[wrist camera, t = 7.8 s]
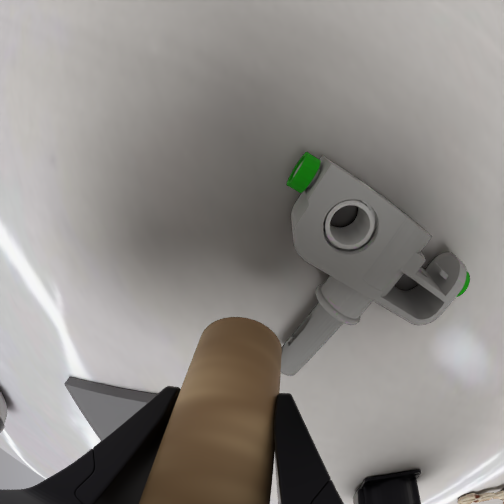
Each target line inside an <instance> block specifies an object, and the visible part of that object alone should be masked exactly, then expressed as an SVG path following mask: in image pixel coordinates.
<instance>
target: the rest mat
mask: <svg viewBox="0 0 504 504" xmlns="http://www.w3.org/2000/svg"><path fill="white" fill-rule="evenodd" d="M65 386H66V388H67V389H68V391H69V393H70V394H71V396H72V398H73V399H74V401H75V403H76V404H77V406H78V407H79V409H80V410H81V412H82V414H83V415H84V417H85V418H86V420H87V421H88V423H89V424H90V426H91V427H92V428H93V430H94V431H95V433H96V434H97V436H98V437H99V438H100V440H101V441H102V440H103V439H105V438H106V437H107V436H108V435H110V434H111V433H112V432H113V431H114V430H116V429H117V428H118V427H119V426H121V425H122V424H123V423H124V422H125V421H127V420H128V419H129V418H130V417H131V416H133V415H134V414H135V413H136V412H137V411H139V410H140V409H141V408H142V407H143V406H144V405H146V404H147V403H148V402H149V401H150V400H151V399H153V398H154V397H155V396H156V395H157V394H152V393H145V392H139V391H134V390H128V389H123V388H118V387H113V386H108V385H103V384H98V383H94V382H90V381H85V380H81V379H77V378H73V377H69V378H68V380H67V381H66V382H65Z"/></svg>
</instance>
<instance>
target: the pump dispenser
mask: <svg viewBox="0 0 504 504" xmlns="http://www.w3.org/2000/svg"><path fill="white" fill-rule="evenodd" d="M6 417H7V406H6V402H5V399H4V397H3V395H2V393H1V391H0V433H1V432H2V431H3V429H4V427H5V426H4V423H5V420H6Z"/></svg>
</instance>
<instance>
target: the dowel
mask: <svg viewBox="0 0 504 504" xmlns="http://www.w3.org/2000/svg"><path fill="white" fill-rule="evenodd" d="M281 356H282V348H281V344H280V341H279V339H278V338H277V336H276V335H275V334H274V332H273V331H272V330H270V329H269V328H268V327H266V326H265V325H263V324H262V323H260V322H257V321H255V320H252V319H248V318H242V317H229V318H223V319H220V320H217V321H215V322H213V323H211V324H210V325H209V326H208V327H207V328H206V329H205V330H204V331H203V333H202V335H201V338H200V340H199V343H198V346H197V348H196V351H195V353H194V356H193V359H192V361H191V364H190V366H189V369H188V372H187V374H186V377H185V380H184V382H183V385H182V387H181V390H180V393H179V395H178V398H177V401H176V403H175V406H174V409H173V411H172V414H171V417H170V419H169V422H168V425H167V427H166V430H165V433H164V436H163V438H162V441H161V444H160V446H159V449H158V452H157V455H156V457H155V460H154V463H153V466H152V468H151V471H150V474H149V477H148V479H147V482H146V485H145V488H144V490H143V493H142V496H141V499H140V502H139V504H270V495H271V485H272V474H273V464H274V452H275V442H274V419H275V409H276V399H277V394H279V388H280V372H281Z"/></svg>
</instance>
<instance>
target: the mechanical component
mask: <svg viewBox="0 0 504 504" xmlns="http://www.w3.org/2000/svg"><path fill="white" fill-rule="evenodd" d="M287 186H289V187H291V188H293V189H294V190H296V191H298V192H299V193H301V195H300V196H299V198H298V200H297V201H296V203H295V204H294V206H293V209H292V212H291V222H292V232H293V241H294V246H295V249H296V251H297V253H298V255H299V256H300V257H301V258H302V259H303V260H305V261H306V262H307V263H309V264H311V265H313V266H314V267H316V268H318V269H319V270H321V271H323V272H325V273H326V274H328V275H330V277H329V278H328V279H327V281H326V282H325V283H324V284H323V285H320V286H318V287H317V289H316V297H317V299H318V301H319V302H318V304H317V306H316V307H315V308H314V309H313V311H312V312H311V313H310V314H309V316H308V317H307V318H306V319H305V320H304V322H303V323H302V324H301V325H300V326H299V327H298V329H297V330H296V331H295V332H294V333H293V335H292V336H291V337H290V338H289V339H288V340H287V342H286V343H285V344H284V345H283V346H282V347H281V348H282V356H281V373H283V374H285V375H288V376H292V375H295V374H296V373H297V372H298V371H299V370H300V369H301V368H302V367H303V366H304V365H305V364H306V363H307V362H308V361H309V360H310V359H311V357H312V356H313V355H314V354H315V353H316V352H317V351H318V350H319V349H320V348H321V347H322V346H323V345H324V344H325V343H326V342H327V340H328V339H329V338H330V337H331V336H332V335H333V334H334V333H335V332H336V331H337V329H338V328H339V327H340V326H341V325H343V324H344V323H345V324H349V325H354V324H357V323H358V322H359V320H360V315H361V314H362V313H363V312H364V311H365V309H366V308H367V307H368V306H369V305H370V304H371V302H372V301H374V302H376V303H378V304H379V305H381V306H383V307H384V308H386V309H388V310H389V311H391V312H393V313H394V314H396V315H398V316H399V317H401V318H403V319H404V320H406V321H408V322H409V323H411V324H414V325H425V324H428V323H431V322H432V321H434V320H436V319H437V318H438V317H439V316H440V315H441V314H442V313H443V312H444V311H445V310H446V308H447V307H448V306H449V305H450V304H451V302H452V301H453V300H454V299H455V298H456V297H458V296H460V295H461V294H463V293H464V292H465V291H466V289H467V287H468V285H469V282H470V276H469V273H468V272H467V271H466V267H465V265H464V264H463V262H462V261H461V260H460V259H459V258H457V257H456V256H455V255H454V254H452V253H450V252H445V253H442V254H440V255H438V256H437V257H436V258H435V259H434V260H433V261H432V262H431V263H430V264H429V266H428V267H427V268H426V269H423V268H422V267H421V266H422V265H423V264H424V262H425V261H426V259H425V258H424V257H425V256H424V255H423V253H422V252H421V251H422V249H423V248H424V247H425V245H426V244H427V243H428V241H429V240H430V238H431V237H432V236H431V235H430V234H429V233H428V232H427V231H426V230H424V229H423V228H422V227H421V226H420V225H419V224H418V223H416V222H415V221H414V220H413V219H411V218H410V217H409V216H408V215H406V214H405V213H404V212H403V211H401V210H400V209H399V208H398V207H396V206H395V205H394V204H392V203H391V202H390V201H388V200H387V199H385V198H384V197H383V196H381V195H380V194H379V193H377V192H376V191H374V190H373V189H372V188H370V187H369V186H368V185H366V184H365V183H363V182H362V181H360V180H359V179H357V178H356V177H355V176H353V175H352V174H350V173H349V172H347V171H346V170H344V169H343V168H341V167H340V166H338V165H337V164H335V163H334V162H332V161H331V160H329V159H328V158H326V157H325V156H323V155H322V156H321V158H320V159H317V158H316V157H314V156H313V155H311V154H309V153H308V152H306V153H305V154H304V155H303V156H302V157H301V159H300V160H299V161H298V163H297V165H296V166H295V168H294V169H293V171H292V173H291V175H290V177H289V179H288V181H287ZM348 205H354V206H358V215H357V217H356V219H355V220H354V222H353V223H351V224H350V225H348V226H346V227H342V228H338V227H334V226H332V225H330V221H331V219H332V216H333V215H334V213H335V212H336V211H337V210H339V209H340V208H342V207H344V206H348ZM403 274H406V275H407V276H409V277H410V278H412V279H413V280H414V281H416V282H417V283H419V284H418V285H417V286H416V287H415V288H413V289H411V290H408V291H402V290H399V289H398V288H396V287H395V286H394V285H395V284H396V283H397V282H398V280H399V279H400V278H401V277H402V275H403Z"/></svg>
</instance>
